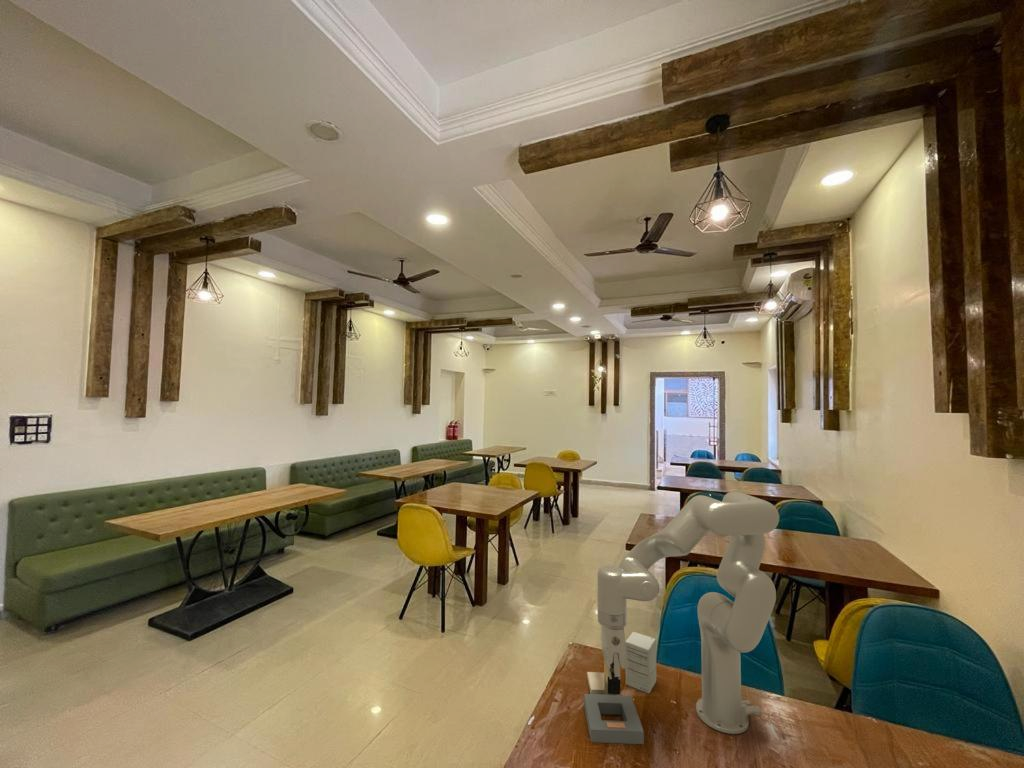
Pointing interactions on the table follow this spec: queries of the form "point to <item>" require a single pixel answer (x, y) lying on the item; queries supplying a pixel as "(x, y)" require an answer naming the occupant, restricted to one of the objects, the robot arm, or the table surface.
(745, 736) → the table surface
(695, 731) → the table surface
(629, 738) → the hole plate
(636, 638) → the supplement box
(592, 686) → the beige square plate
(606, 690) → the brass peg
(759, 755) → the table surface
